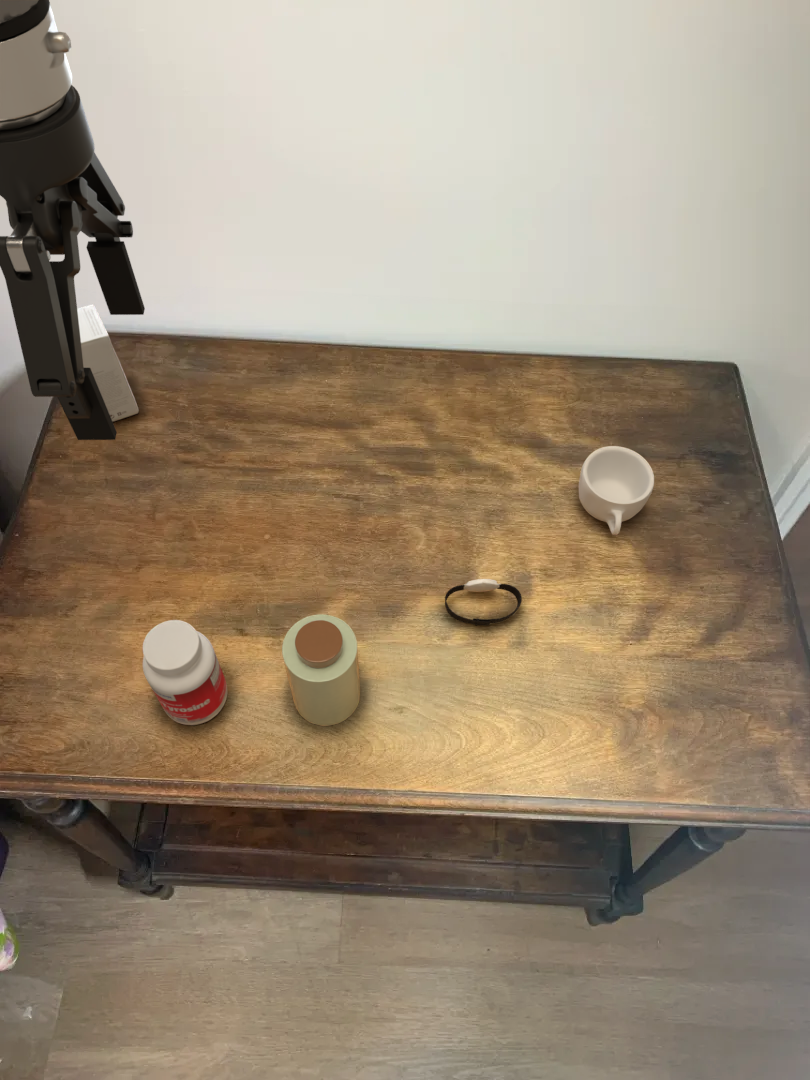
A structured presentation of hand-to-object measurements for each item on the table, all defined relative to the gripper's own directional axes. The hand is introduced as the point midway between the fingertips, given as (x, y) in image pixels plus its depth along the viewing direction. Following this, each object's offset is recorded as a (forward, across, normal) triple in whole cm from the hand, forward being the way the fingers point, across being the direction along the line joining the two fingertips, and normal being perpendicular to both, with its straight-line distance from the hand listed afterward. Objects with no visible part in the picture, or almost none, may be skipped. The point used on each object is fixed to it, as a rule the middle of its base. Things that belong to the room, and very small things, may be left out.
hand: (113, 370), depth 64 cm
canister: (+27, -16, -16) cm, 35 cm away
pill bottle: (+27, -16, -3) cm, 31 cm away
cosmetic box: (+27, +22, +11) cm, 36 cm away
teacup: (+27, +5, -46) cm, 54 cm away
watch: (+27, -7, -31) cm, 42 cm away
